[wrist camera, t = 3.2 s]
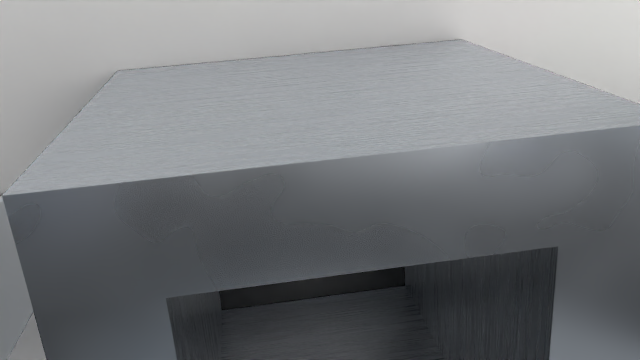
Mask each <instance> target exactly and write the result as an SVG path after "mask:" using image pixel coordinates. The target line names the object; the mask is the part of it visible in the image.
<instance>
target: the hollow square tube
mask: <svg viewBox="0 0 640 360" xmlns="http://www.w3.org/2000/svg"><path fill="white" fill-rule="evenodd" d="M2 198H3V201H4V205H5V209H6V212H7V216H8V220H9V223H10V227H11V231H12V234H13V238H14V242H15V245H16V249H17V253H18V256H19V260H20V264H21V267H22V271H23V275H24V278H25V282H26V286H27V289H28V293H29V297H30V300H31V304H32V308H33V311H34V315H35V319H36V322H37V326H38V330H39V333H40V337H41V341H42V344H43V348H44V352H45V355H46V359H47V360H640V104H638V103H635V102H632V101H629V100H627V99H624V98H621V97H619V96H616V95H613V94H610V93H608V92H605V91H602V90H599V89H597V88H594V87H591V86H588V85H586V84H583V83H580V82H577V81H575V80H572V79H569V78H567V77H564V76H561V75H558V74H556V73H553V72H550V71H547V70H545V69H542V68H539V67H536V66H534V65H531V64H528V63H525V62H523V61H520V60H517V59H514V58H512V57H509V56H506V55H504V54H501V53H498V52H495V51H493V50H490V49H487V48H484V47H482V46H479V45H476V44H473V43H471V42H468V41H465V40H452V41H441V42H430V43H419V44H408V45H397V46H386V47H375V48H364V49H353V50H342V51H331V52H320V53H309V54H298V55H287V56H276V57H265V58H254V59H243V60H232V61H221V62H210V63H199V64H188V65H177V66H166V67H155V68H144V69H133V70H122V71H117V72H116V73H115V74H114V75H113V76H112V78H111V79H110V80H109V81H108V82H107V83H106V84H105V85H104V86H103V87H102V88H101V89H100V91H99V92H98V93H97V94H96V95H95V96H94V97H93V98H92V99H91V100H90V101H89V102H88V103H87V105H86V106H85V107H84V108H83V109H82V110H81V111H80V112H79V113H78V114H77V115H76V116H75V118H74V119H73V120H72V121H71V122H70V123H69V124H68V125H67V126H66V127H65V128H64V129H63V130H62V132H61V133H60V134H59V135H58V136H57V137H56V138H55V139H54V140H53V141H52V142H51V143H50V144H49V146H48V147H47V148H46V149H45V150H44V151H43V152H42V153H41V154H40V155H39V156H38V157H37V159H36V160H35V161H34V162H33V163H32V164H31V165H30V166H29V167H28V168H27V169H26V170H25V171H24V173H23V174H22V175H21V176H20V177H19V178H18V179H17V180H16V181H15V182H14V183H13V184H12V186H11V187H10V188H9V189H8V190H7V191H6V192H5V193H4V194H3V195H2ZM404 266H405V286H400V287H392V288H385V289H377V290H370V291H363V292H355V293H348V294H341V295H333V296H326V297H318V298H311V299H304V300H296V301H289V302H281V303H274V304H267V305H259V306H252V307H244V308H237V309H230V310H222V308H221V301H220V294H219V291H222V290H230V289H237V288H245V287H252V286H260V285H268V284H275V283H283V282H290V281H298V280H306V279H313V278H321V277H328V276H336V275H344V274H351V273H359V272H366V271H374V270H381V269H389V268H397V267H404Z"/></svg>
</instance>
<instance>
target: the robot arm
mask: <svg viewBox="0 0 640 360" xmlns="http://www.w3.org/2000/svg"><path fill="white" fill-rule="evenodd" d="M32 313H33V308H32V304H31V300H30V297H29V293H28V289H27V286H26V282H25V278H24V275H23V271H22V267H21V264H20V260H19V256H18V253H17V249H16V245H15V242H14V238H13V234H12V231H11V227H10V223H9V220H8V216H7V212H6V209H5V205H4V201H3V198H2V196H0V360H7V359H8V357H9V355H10V354H11V352H12V350H13V348H14V346H15V344H16V343H17V341H18V339H19V337H20V335H21V333H22V331H23V330H24V328H25V326H26V324H27V322H28V320H29V318H30V317H31V315H32Z"/></svg>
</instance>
